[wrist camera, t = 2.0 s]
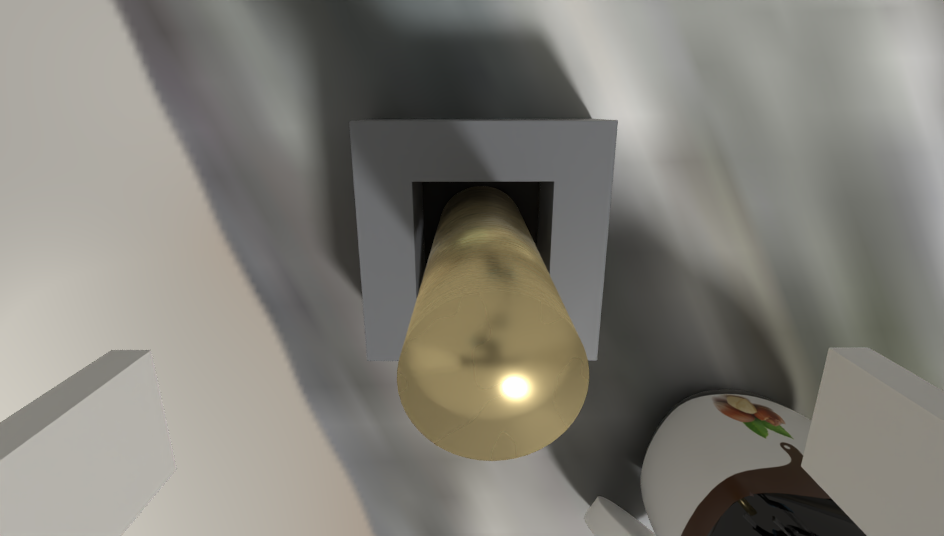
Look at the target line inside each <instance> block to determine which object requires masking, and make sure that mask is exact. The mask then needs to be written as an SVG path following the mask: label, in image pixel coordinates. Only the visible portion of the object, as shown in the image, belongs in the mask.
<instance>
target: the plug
mask: <svg viewBox="0 0 944 536" xmlns="http://www.w3.org/2000/svg"><path fill="white" fill-rule="evenodd" d="M397 384H398V392H399V396H400V399H401V403H402V405H403V407H404V410H405V412H406V414H407V415H408V417H409V419H410V420H411V422H412V423H413V424H414V426H415V427H416V428H417V429H418V430H419V431H420V432H421V433H422V434H423V435H424V436H425V437H426V438H427V439H429V440H430V441H431V442H433V443H434V444H435V445H437V446H439V447H441V448H442V449H444V450H446V451H448V452H451V453H453V454H456V455H459V456H462V457H466V458H470V459H476V460H486V461H498V460H508V459H514V458H518V457H522V456H525V455H528V454H531V453H533V452H536V451H538V450H540V449H542V448H543V447H545V446H547V445H549V444H550V443H552V442H553V441H554V440H556V439H557V438H558V437H559V436H561V435H562V434H563V433H564V432H565V431H566V430H567V429H568V428H569V426H570V425H571V424H572V423H573V422H574V420H575V419H576V417H577V416H578V414H579V412H580V410H581V408H582V406H583V404H584V401H585V398H586V395H587V391H588V385H589V365H588V358H587V355H586V352H585V348H584V346H583V344H582V342H581V340H580V338H579V336H578V333H577V331H576V329H575V327H574V325H573V323H572V321H571V319H570V317H569V315H568V312H567V310H566V308H565V306H564V304H563V302H562V300H561V298H560V296H559V293H558V291H557V289H556V287H555V285H554V283H553V281H552V279H551V277H550V274H549V272H548V270H547V268H546V266H545V264H544V262H543V260H542V258H541V255H540V253H539V251H538V249H537V247H536V245H535V243H534V241H533V239H532V237H531V234H530V232H529V230H528V228H527V226H526V224H525V222H524V220H523V218H522V215H521V213H520V211H519V209H518V207H517V205H516V204H515V202H514V201H513V200H512V199H511V198H510V197H509V196H508V195H507V194H505V193H504V192H502V191H500V190H498V189H496V188H493V187H489V186H474V187H469V188H466V189H464V190H462V191H460V192H458V193H457V194H455V195H454V196H453V197H452V198H451V199H450V200H449V201H448V202H447V204H446V205H445V207H444V209H443V211H442V214H441V217H440V221H439V224H438V228H437V231H436V234H435V238H434V241H433V245H432V248H431V252H430V255H429V258H428V262H427V265H426V269H425V272H424V276H423V279H422V283H421V286H420V289H419V293H418V296H417V300H416V303H415V307H414V310H413V313H412V317H411V320H410V324H409V327H408V331H407V334H406V338H405V341H404V344H403V348H402V351H401V355H400V358H399V363H398V369H397Z"/></svg>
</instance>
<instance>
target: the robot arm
mask: <svg viewBox="0 0 944 536" xmlns="http://www.w3.org/2000/svg"><path fill="white" fill-rule="evenodd" d="M801 467H802V468H803V469H804V470H805V471H806V472H807V473H808V474H809V475H810V476H811V477H812V478H813V480H814V481H815V482H816V483H817V484H818V485H819V486H820V487H821V488H822V489H823V490H824V491H825V492H826V493H827V494H828V495H829V496H830V497H831V499H832V500H833V501H834V502H835V503H836V504H837V505H838V506H839V507H840V508H841V509H842V510H843V511H844V512H845V513H846V514H847V515H848V516H849V517H850V519H851V520H852V521H853V522H854V523H855V524H856V525H857V526H858V527H859V528H860V529H861V530H862V531H863V532H864V533H865V534H866V535H867V536H944V391H943V390H941V389H939V388H938V387H936V386H934V385H932V384H931V383H929V382H927V381H925V380H924V379H922V378H920V377H919V376H917V375H915V374H913V373H912V372H910V371H908V370H906V369H905V368H903V367H901V366H900V365H898V364H896V363H894V362H893V361H891V360H889V359H887V358H886V357H884V356H882V355H881V354H879V353H877V352H875V351H874V350H872V349H870V348H829V350H828V355H827V359H826V363H825V367H824V371H823V376H822V380H821V384H820V388H819V392H818V397H817V401H816V405H815V409H814V413H813V417H812V422H811V426H810V430H809V434H808V438H807V443H806V447H805V451H804V455H803V459H802V464H801ZM176 469H177V467H176V463H175V458H174V453H173V448H172V444H171V440H170V435H169V430H168V425H167V421H166V416H165V412H164V407H163V403H162V398H161V393H160V389H159V385H158V380H157V375H156V370H155V366H154V361H153V357H152V352H151V350H111V351H110V352H108V353H106V354H105V355H103V356H102V357H100V358H99V359H97V360H96V361H94V362H92V363H91V364H89V365H88V366H86V367H85V368H83V369H82V370H80V371H79V372H77V373H76V374H74V375H72V376H71V377H69V378H68V379H66V380H65V381H63V382H62V383H60V384H59V385H57V386H56V387H54V388H52V389H51V390H49V391H48V392H46V393H45V394H43V395H42V396H40V397H39V398H37V399H36V400H34V401H33V402H31V403H29V404H28V405H26V406H25V407H23V408H22V409H20V410H19V411H17V412H16V413H14V414H13V415H11V416H9V417H8V418H7V419H5V420H3V421H2V422H0V536H122V535H123V533H124V532H125V531H126V530H127V528H128V527H129V526H130V525H131V524H132V523H133V521H134V520H135V519H136V517H137V516H138V515H139V514H140V513H141V512H142V510H143V509H144V508H145V507H146V506H147V504H148V503H149V502H150V501H151V500H152V498H153V497H154V496H155V495H156V493H157V492H158V491H159V490H160V489H161V487H162V486H163V485H164V484H165V483H166V482H167V480H168V479H169V478H170V477H171V476H172V474H173V473H174V472H175V471H176Z"/></svg>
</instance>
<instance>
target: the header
mask: <svg viewBox="0 0 944 536" xmlns="http://www.w3.org/2000/svg"><path fill="white" fill-rule="evenodd" d="M617 125H618V120H604V119H366V120H354V121H349V128H350V141H351V154H352V167H353V181H354V194H355V207H356V220H357V233H358V246H359V259H360V272H361V285H362V299H363V312H364V325H365V338H366V351H367V361H399V358H400V355H401V351H402V348H403V344H404V341H405V338H406V334H407V331H408V327H409V324H410V320H411V317H412V313H413V310H414V307H415V303H416V300H417V296H418V293H419V289H420V286H421V283H422V279H423V276H424V272H425V248H424V218H423V187H422V182H531V181H540V190H539V215H538V239H537V249H538V251H539V253H540V255H541V258H542V260H543V262H544V264H545V266H546V268H547V270H548V272H549V274H550V277H551V279H552V281H553V283H554V285H555V287H556V289H557V291H558V293H559V296H560V298H561V300H562V302H563V304H564V306H565V308H566V310H567V312H568V315H569V317H570V319H571V321H572V323H573V325H574V327H575V329H576V331H577V333H578V336H579V338H580V340H581V342H582V344H583V346H584V348H585V352H586V355H587V358H588V361H592V360H597V355H598V343H599V332H600V320H601V309H602V297H603V286H604V274H605V263H606V251H607V240H608V228H609V217H610V205H611V194H612V182H613V171H614V159H615V148H616V136H617Z"/></svg>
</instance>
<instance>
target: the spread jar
mask: <svg viewBox="0 0 944 536" xmlns="http://www.w3.org/2000/svg"><path fill="white" fill-rule="evenodd" d="M811 422H812V420H810V419H809V418H807V417H805V416H803V415H801V414H799V413H797V412H795V411H793V410H792V409H790V408H788V407H786V406H784V405H782V404H780V403H778V402H775V401H773V400H771V399H768V398H766V397H763V396H760V395H757V394H754V393H750V392H747V391H741V390H732V389H719V390H710V391H704V392H700V393H697V394H694V395H691V396H689V397H687V398H685V399H684V400H682V401H680V402H679V403H678V404H677V405H675V406H674V407H673V408H672V409H671V410H670V411H669V412H668V413H667V415H666V416H665V417H664V418H663V420H662V421H661V422H660V424H659V425H658V427H657V428H656V430H655V432H654V434H653V436H652V438H651V440H650V442H649V444H648V447H647V450H646V453H645V457H644V462H643V466H642V472H641V494H642V499H643V503H644V506H645V510H646V513H647V515H648V518H649V520H650V523H651V525H652V527H653V530H654V532H655V534H654V533H653V532H652V531H651V530H650V529H648V528H647V527H646V526H645V525H643V524H642V523H641V522H640V521H638V520H637V519H636V518H634V517H633V516H632V515H630V514H629V513H628V512H626V511H625V510H624V509H622V508H621V507H619V506H618V505H616V504H615V503H613V502H612V501H610V500H608V499H606V498H604V497H602V496H598V497H597V498H596V500H595V501H594V502H593V504H592V505H591V507H590V508H589V510H588V511H587V513H586V514H585V516H584V519H585V522H586V524H587V526H588V527H589V529H590V530H591V531H592V533H593V534H594V535H595V536H867V535H866V534H865V533H864V532H863V531H862V530H861V529H860V528H859V527H858V526H857V525H856V524H855V523H854V522H853V521H852V520H851V519H850V517H849V516H848V515H847V514H846V513H845V512H844V511H843V510H842V509H841V508H840V507H839V506H838V505H837V504H836V503H835V502H834V501H833V500H832V499H831V497H830V496H829V495H828V494H827V493H826V492H825V491H824V490H823V489H822V488H821V487H820V486H819V485H818V484H817V483H816V482H815V481H814V480H813V478H812V477H811V476H810V475H809V474H808V473H807V472H806V471H805V470H804V469H803V468H802V467H801V464H802V459H803V455H804V451H805V447H806V443H807V438H808V434H809V430H810V426H811Z"/></svg>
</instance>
